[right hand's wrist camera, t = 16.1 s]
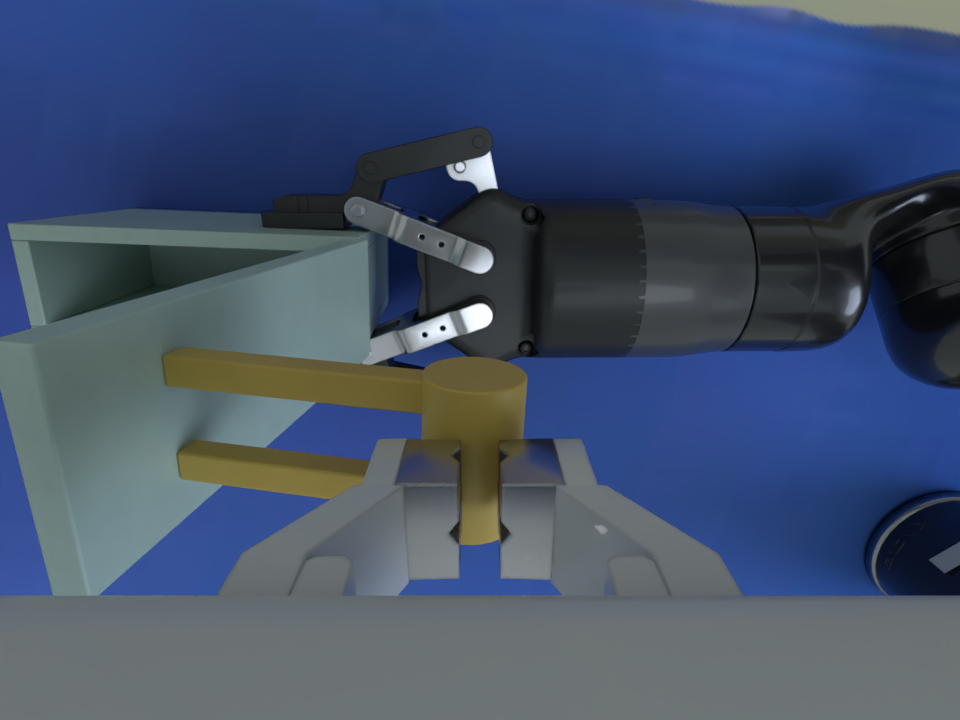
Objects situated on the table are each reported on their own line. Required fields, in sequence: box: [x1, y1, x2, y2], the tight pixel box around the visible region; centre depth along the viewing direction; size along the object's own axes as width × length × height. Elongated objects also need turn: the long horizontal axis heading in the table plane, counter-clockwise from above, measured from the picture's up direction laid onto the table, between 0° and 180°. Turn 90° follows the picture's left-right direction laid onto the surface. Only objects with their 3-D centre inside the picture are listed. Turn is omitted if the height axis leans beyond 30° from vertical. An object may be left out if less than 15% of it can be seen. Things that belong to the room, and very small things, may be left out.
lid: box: [0, 238, 528, 596], centre depth 16 cm, size 15×5×8 cm
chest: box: [8, 208, 390, 337], centre depth 28 cm, size 14×5×10 cm, turn 87°
